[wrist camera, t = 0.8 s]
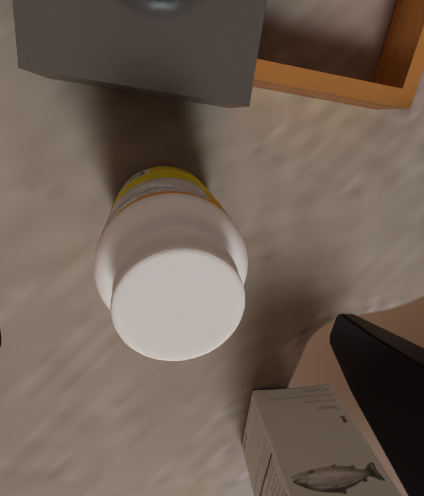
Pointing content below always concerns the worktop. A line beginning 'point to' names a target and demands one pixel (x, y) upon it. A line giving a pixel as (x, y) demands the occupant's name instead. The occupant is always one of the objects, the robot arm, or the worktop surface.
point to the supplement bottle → (171, 266)
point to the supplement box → (309, 447)
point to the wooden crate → (200, 51)
